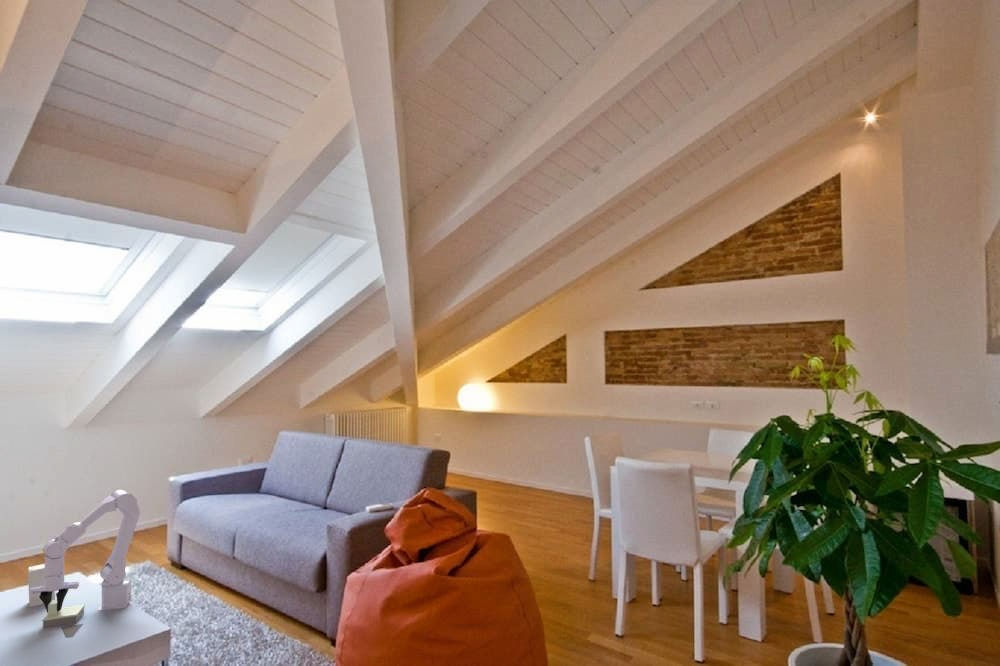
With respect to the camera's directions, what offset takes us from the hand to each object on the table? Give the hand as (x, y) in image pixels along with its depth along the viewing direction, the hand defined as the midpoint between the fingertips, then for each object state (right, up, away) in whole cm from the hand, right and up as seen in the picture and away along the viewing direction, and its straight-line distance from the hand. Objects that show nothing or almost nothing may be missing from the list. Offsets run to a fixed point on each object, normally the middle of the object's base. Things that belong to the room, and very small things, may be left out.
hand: (54, 610), depth 207 cm
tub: (+3, -4, +1) cm, 5 cm away
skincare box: (-18, -5, +16) cm, 24 cm away
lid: (+3, -1, +1) cm, 3 cm away
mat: (+8, -4, -8) cm, 12 cm away
